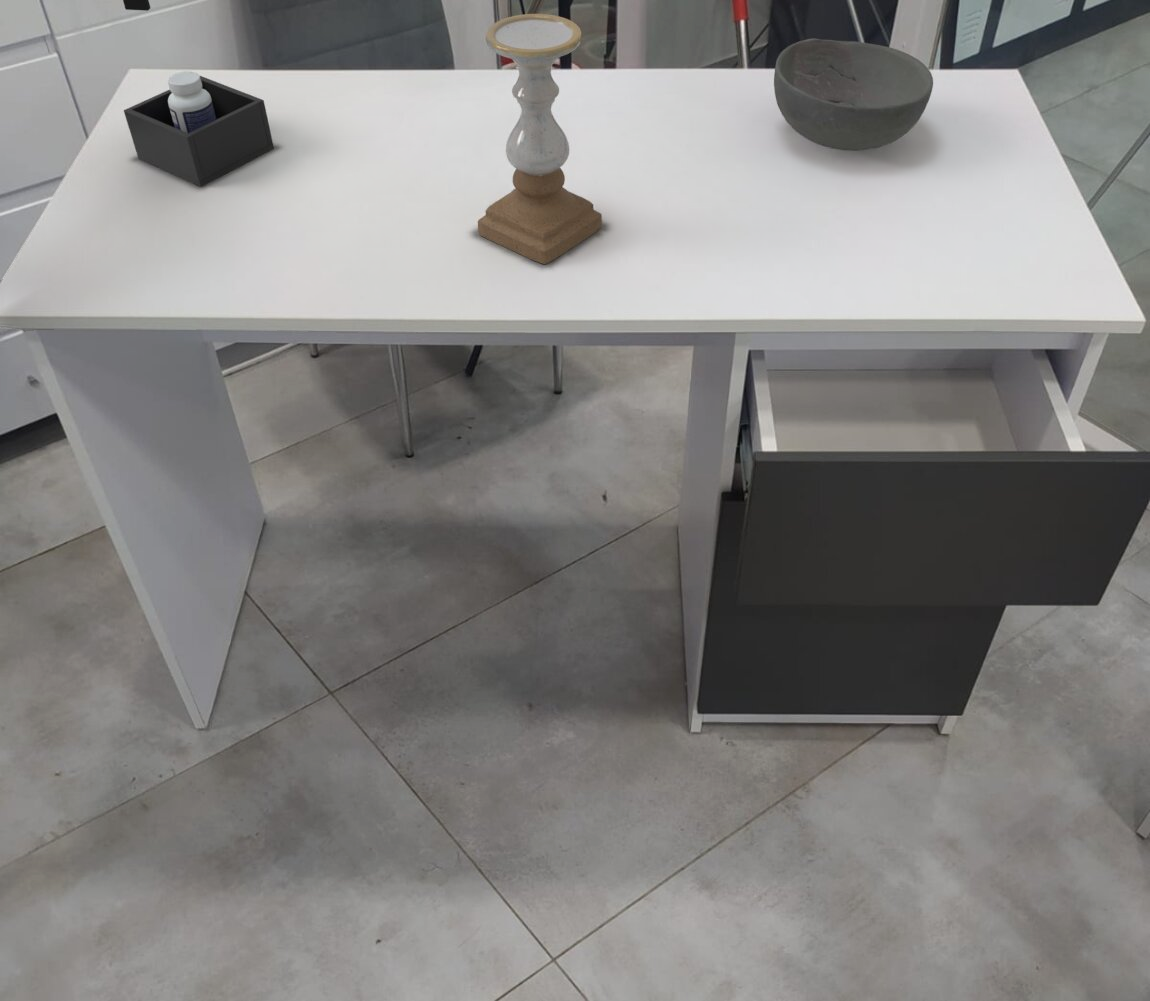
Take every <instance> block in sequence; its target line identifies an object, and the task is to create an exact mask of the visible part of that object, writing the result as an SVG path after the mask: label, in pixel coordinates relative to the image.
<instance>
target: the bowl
mask: <svg viewBox="0 0 1150 1001" xmlns="http://www.w3.org/2000/svg"><path fill="white" fill-rule="evenodd" d="M773 74H774V75H773V89H774V96H775V100H776V104H777V107H778V110H779V111H780V113H781V115H782V117H783V119H784V120H785V121H786V122H787V124H788V125H789V126H790V127H791V128H792V129H793V130H794V131H795V132H796V133H797V134H799V135H800V136H802V138H804V139H806V140H808V141H810V142H812V143H813V144H817V145H819V146H822V147H824V148H828V149H833V150H836V151H837V150H838V151H845V152H847V151H848V152H849V151H850V152H856V151H868V150H869V151H870V150H874V149H877V148H881V147H884V146H887V145H889V144H892V143H894V142H896V141H897V140H899V139H901V138H902V137H903V136H905V135H906V134H908V133H909V132H910V130H912V129H913V128H914V127H915V126H916V125H917V123H918V122H919V120H920V119H921V117H922V115H923V114H924V112H925V110H926V108H927V105H928V103H929V101H930V98H931V96H932V92H933V88H934V77H933V75H932V72H931V71H930V69H929V68H928V67H927V66H926V65H925V63H924V62H922V61H921V60H919V59H918V58H916V57H915V56H913V55H910V54H909V53H906V52H904V51H901V50H899V49H896V48H893V47H890V46H887V45H886V46H885V45H880V44H874V43H870V42H861V41H853V40H851V41H848V40H833V39H819V38H808V39H804V40H800V41H798V42H795V43H792V44H790V45H788V46H787V47H785V49H783V50H782V51H781V52H780V53H779V55H778V56H777V58H776V62H775V66H774V73H773Z"/></svg>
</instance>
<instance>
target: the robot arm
mask: <svg viewBox="0 0 1150 1001" xmlns="http://www.w3.org/2000/svg"><path fill="white" fill-rule="evenodd" d="M122 1H123V5H124V8H125V10H127V11H149V10H151V5H150V1H149V0H122Z"/></svg>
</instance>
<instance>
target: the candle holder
mask: <svg viewBox="0 0 1150 1001" xmlns="http://www.w3.org/2000/svg"><path fill="white" fill-rule="evenodd" d="M582 39H583V38H582V30H581V28H580V27H579V25H578V24H576V23H575V22H574V21H572V20H570V19H568V18H567V17H566V18H565V17H564V16H563V17H562V16H559V15H554V14H545V13H526V14H517V15H512V16H509V17H505V18H502V19H499V20H498V21H495V22H494V23H493V24H492V25H490V26H489V27H488V29H487V31H486V32H485V41H486V44H487V46H488V48H489V49H490V50H491V51H492V52H493V53H495V54H496V55H499V56H501V57H504V58H507V59H511V60H512V61H513V63H514V64H516V66H517V70H518V77H517V81H516V83H515V84H514V85H513V86H512V89H511V94H512V96H513V97H514V98H515V100H516V102H517V103H518V105H519V106H520V109H521V112H520V115H519V118H518V120H517V122H516V124H515V125H514V127H513V128H512V130H511V132H510V134H508V135H509V136H508V137H507V140H506V143H505V155H506V158H507V161H508V162H509V164H511V166H512V167H513V168H515V170H514V171H513V174H512V185H513V187H514V189H512V190H511V192H509V193H508V194H505V195H504V196H503V197H500V198H499V199H498V200H495V202H493V203H492V204H490V205H489V206H488V207H487V208H486V209H485V215H483V216H481V218H479V219H478V220H477V231H478V233H477V234H478V235H479V236H480V237H483V238H485V239H487V240H489V241H491V242H493V243H495V244H497V245H499V246H501V247H503V248H506V249H508V250H510V251H512V252H514V253H517V254H519V255H521V256H523V257H526V258H527V259H529V260H531V261H534V262H537V263H539V264H540V265H541V264H542V265H547V264H549V263H551V262H552V261H554V260H556V259H557V258H559V257H560V256H562V255H563V254H565V253H567V252H568V251H570V250H571V249H573V248H574V247H576V246H577V245H579V244H580V243H582V242H583V241H585V240H586V239H587V238H590V237H591V236H592V235H594V234H595V233H597V232H598V231H600V230H601V229H602V227H603V214H602V212H599V211H598V210H595V209H594V204H593V203H592V201H590V200H589V199H586V198H584V197H582V196H580V195H577V194H575V193H573V192H571V191H569V190H567V189H566V188H565V187H564V185H565V181H566V178H565V172H564V171H563V169H562V167H563V166H564V165H565V163H566V162H567V160H568V159H569V156H570V143H569V139H568V137H567V135H566V133H565V132H564V130H563V129H562V127H561V126H560V125H559V124H558V122H557V120H556V119H555V116H554V115H553V112H552V107H553V104H554V103H555V101H556V98H557V97H558V96H559V94H560V87H559V85H558V84H557V83H556V81H555V80H554V79H553V76H552V69H553V68H552V67H553V65H554V63H555V62H556V60H557V59H558V58H561V57H563V56H566V55H568V54H570V53H572V52H574V51H575V50H576V49H577V48H578V47H579V45H580V44H581V43H582V42H581V41H582Z"/></svg>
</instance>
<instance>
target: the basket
mask: <svg viewBox="0 0 1150 1001" xmlns="http://www.w3.org/2000/svg"><path fill="white" fill-rule="evenodd" d="M199 76H200V79H201V82H202V89H205V90H206V91H207V92H208V93H209V94H210V96H211V99H212V104H213V108H214V112H215V116H216V120H215V121H213V122H211V123H209V124H207V125H204V126H202V127H200V128H198V129H196V130H194V131H192V132H190V133H189V134H188V133H186V132H184V131H181V130H179V129H176V128H175V126H174V123H173V119H172V115H171V112H170V108H169V104H168V98H169V96H170V95H171V94H172V92H171V91H170V89H166V90H165V91H163V92H161V93H158V94H157V95H154V96H152V97H150V98H148V99H146V100H143V101H141V102H139V103H136V104H134V105H132V106H130V107H128V108H126V109H125V108H124V109H123V113H124V117H125V120H126V122H127V126H128V129H129V134H130V136H131V139H132V143H133V145H134V146H133V147H134V149H135V152H136V156H137V159H138V160H140V161H142V162H144V163H147V164H149V165H151V166H153V167H155V168H158V169H160V170H162V171H164V172H167V173H169V174H170V175H174V176H176V177H178V178H180V179H182V180H184V181H186V182H189V183H191V184H193V185H195V186H198V187H199V188H201V187H204V186H206V185H208V184H209V183H212V182H213V181H215V180H216V179H219V178H221V177H223V176H224V175H226V174H228V173H230V172H232V171H234V170H235V169H238V168H240V167H242V166H243V165H246V164H247V163H249V162H251V161H253V160H255V159H257V158H259V157H261V156H263V155H265V154H267V153H268V152H271V151H272V150H274V149H275V146H274V143H273V137H272V132H271V128H270V123H269V119H268V113H267V108H266V105H265V100H264V99H262V98H259V97H257V96H255V95H251V94H249V93H246V92H245V91H241V90H239V89H236V88H233V87H231V86H228V85H225V84H223V83H221V82H217V81H215V80H212V79H210V78H207V77H204V76H202V75H199Z"/></svg>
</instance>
